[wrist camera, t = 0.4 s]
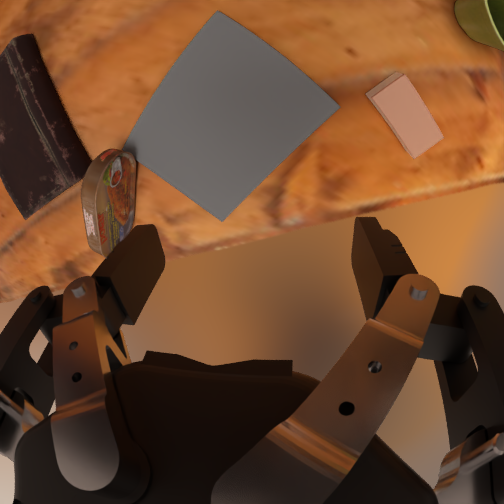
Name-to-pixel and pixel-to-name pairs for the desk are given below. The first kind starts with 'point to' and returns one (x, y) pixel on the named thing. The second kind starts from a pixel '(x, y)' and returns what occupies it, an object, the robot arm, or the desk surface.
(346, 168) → the desk surface
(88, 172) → the tin
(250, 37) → the mat
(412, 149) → the block
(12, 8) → the desk surface
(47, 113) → the diary
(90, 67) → the desk surface
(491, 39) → the plant pot
